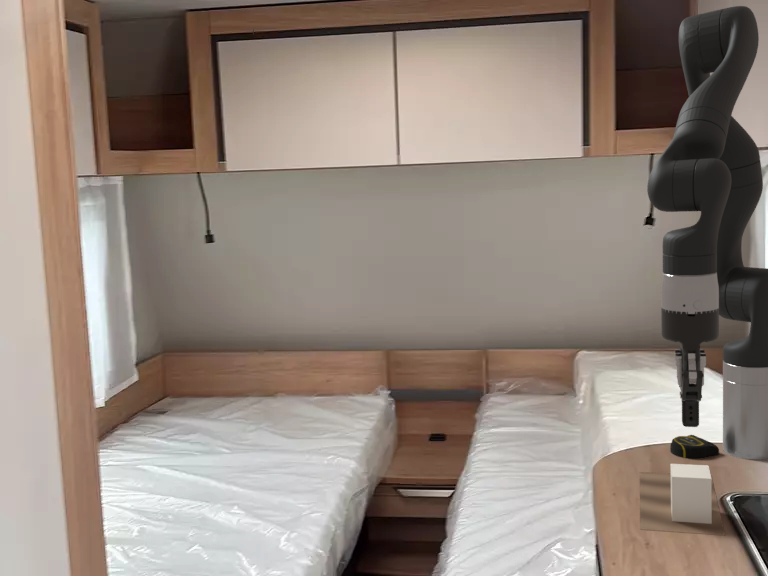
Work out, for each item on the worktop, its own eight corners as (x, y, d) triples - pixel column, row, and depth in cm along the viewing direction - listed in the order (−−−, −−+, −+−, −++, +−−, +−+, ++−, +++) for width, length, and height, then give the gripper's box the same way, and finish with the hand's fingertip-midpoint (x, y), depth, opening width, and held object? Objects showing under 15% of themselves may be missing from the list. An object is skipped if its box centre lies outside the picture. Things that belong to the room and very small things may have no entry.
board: (639, 480, 137) (639, 471, 137) (711, 484, 134) (711, 475, 133) (640, 539, 116) (640, 529, 116) (725, 545, 113) (725, 535, 113)
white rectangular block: (670, 506, 123) (670, 463, 122) (708, 508, 121) (708, 465, 120) (672, 521, 118) (671, 476, 117) (711, 523, 116) (711, 478, 115)
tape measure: (721, 464, 142) (721, 443, 142) (687, 470, 140) (687, 449, 140) (694, 451, 149) (694, 431, 148) (662, 457, 147) (662, 437, 146)
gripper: (659, 297, 122) (661, 410, 125) (662, 313, 110) (663, 439, 112) (714, 296, 120) (714, 412, 123) (723, 313, 108) (723, 441, 110)
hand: (690, 425), depth 117 cm, fingers closed
